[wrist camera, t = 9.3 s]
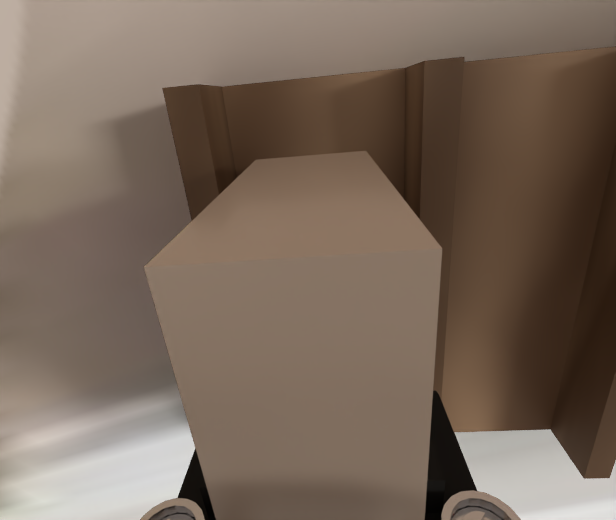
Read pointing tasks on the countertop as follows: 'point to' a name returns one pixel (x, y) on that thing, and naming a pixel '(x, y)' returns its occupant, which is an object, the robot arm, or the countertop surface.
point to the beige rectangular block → (305, 341)
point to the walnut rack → (469, 215)
